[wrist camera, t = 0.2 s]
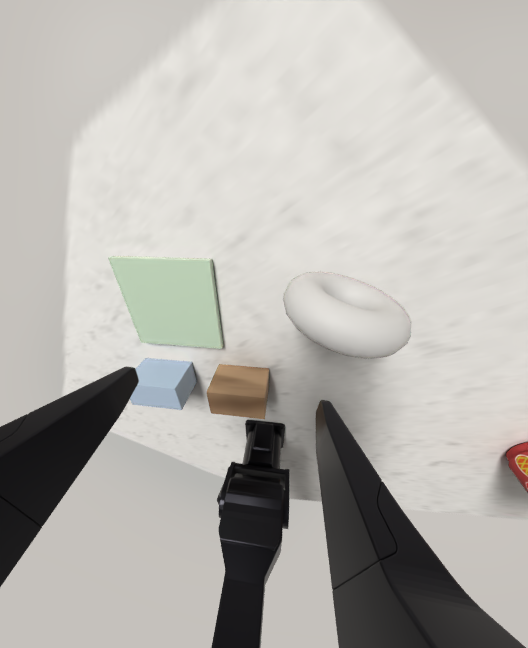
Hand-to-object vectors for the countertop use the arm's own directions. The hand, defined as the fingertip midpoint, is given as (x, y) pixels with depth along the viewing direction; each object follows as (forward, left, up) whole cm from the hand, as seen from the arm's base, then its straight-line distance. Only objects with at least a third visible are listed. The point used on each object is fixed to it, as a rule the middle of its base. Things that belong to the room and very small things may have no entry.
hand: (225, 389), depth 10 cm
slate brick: (-14, +14, -14) cm, 24 cm away
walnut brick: (-14, +3, -14) cm, 20 cm away
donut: (0, -7, -14) cm, 16 cm away
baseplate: (-3, +11, -14) cm, 18 cm away
